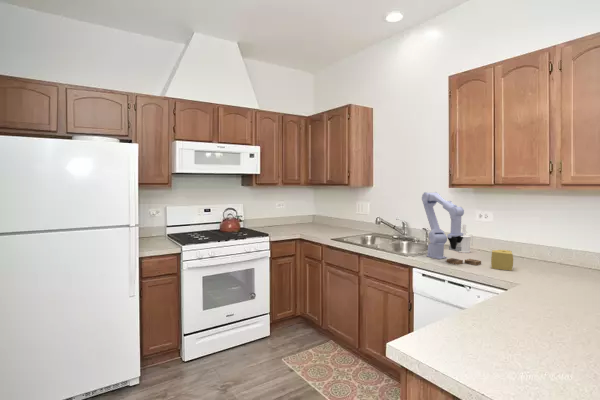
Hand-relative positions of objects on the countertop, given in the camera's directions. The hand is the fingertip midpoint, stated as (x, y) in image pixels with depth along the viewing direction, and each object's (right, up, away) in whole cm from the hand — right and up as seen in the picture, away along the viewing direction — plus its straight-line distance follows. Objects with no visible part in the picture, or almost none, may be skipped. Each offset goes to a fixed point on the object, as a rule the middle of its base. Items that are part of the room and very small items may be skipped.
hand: (455, 248), depth 202 cm
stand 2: (+10, -9, -1) cm, 14 cm away
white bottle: (+23, -8, +35) cm, 42 cm away
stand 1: (0, -9, 0) cm, 9 cm away
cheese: (+22, -10, -10) cm, 27 cm away
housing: (0, -1, 0) cm, 1 cm away
